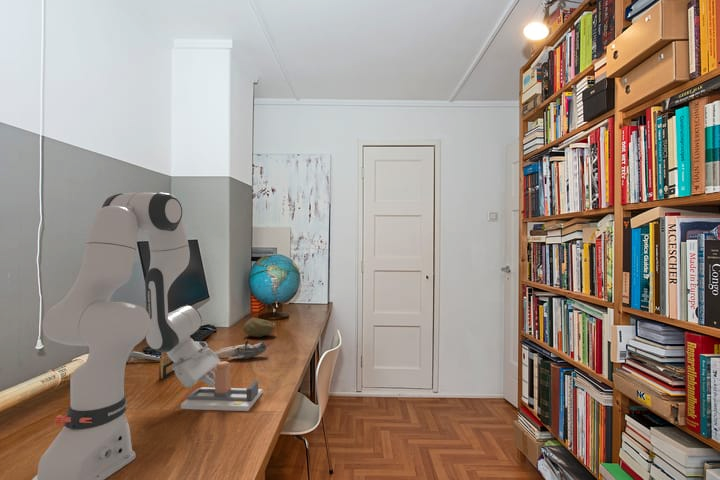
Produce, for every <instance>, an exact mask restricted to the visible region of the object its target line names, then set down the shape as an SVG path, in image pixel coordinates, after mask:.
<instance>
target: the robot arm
mask: <svg viewBox="0 0 720 480" xmlns="http://www.w3.org/2000/svg"><path fill="white" fill-rule="evenodd" d="M182 217H183V207H182V204H181V202H180V201H179V200H178V198H177V197H176V196H175V195H174V194H171V193H167V192H160V191H159V192H143V191H136V192H134V191H133V192H128V193H116V194H114V195H110V196H109V197H107V198H106V199H105V201H104V202H103V204H102V206H101V208H100V209H98V211H97V212H96V214H95V216H94V218H93V220H92V223H91V226H90V229H89V232H88V234H87V239H86V243H85V247H84V253H83V256H82V262H81V266H80V268H79V269H80V270H79V273H78V274H77V278H76V280H75V281H74V284H73V285H72V287H71V288H70V290H69V291H68V292H67V294H66V295H65V297H63V298H62V299H61V300H60V301H58V303H56V304H55V305H53V306H52V307H51V308H49V309H48V310H47V312H46V313H45V315H44V317H43V318H42V319H43V320H42V322H41V323H42V325H41V326H42V327H41V329H42V332H43V334H44V337H46V338H47V339H48V340H50V341H52V342H54V343H55V342H56V343H58V344H62V345H65V346H75V347H76V346H79V347H88V350H89V351H88V356H87V359H86V361H85V362H84V363H82V364H80V365H79V366H78V367H76V368H75V369H74V370H73V371H72V373H71V375H70V379H69V380H70V383H69V384H70V385H69V387H70V393H69V395H70V405H69V406H68V409H67V410H66V411H67V412H66V414H65V415H64V414H63V415H62V414H58V415H57V416H55V419H54V424H55V425H59V426H60V425H62V426H63V425H64V426H63V428H62V429H61V430H60V432H59V433H58V434H57V436H56V437H55V439H53V441H52V443H51V444H50V445H49V447H48V448H47V449H46V450H45V452H44V453H43V455H41V457H40V458H39V461H38V466H37V474H36V475H35V476H34V477H33V478H32V479H31V480H106V479H107V478H109V477H110V476H112V475H113V474H115V473H116V472H118V471H119V470H120V469H122V468H123V467H124V466H126V465H128V464H130V463H132V462H133V461H134V460H135V459H136V458H137V455H136V452H135V451H134V450H133V445H132V437H131V429H130V428H131V427H130V424H129V422H128V420H127V417H126V414H125V412H126V411H127V397H126V394H125V369H126V364H127V362H126V361H127V359H128V356H129V354H130V353H131V351H132V349H133V350H134V349H135V347H137V345H139V344H140V343H142V342H143V340H144V339H145V342H146V344H147V346H148V347H149V348H150V349H152V350H154V351H156V352H158V353H161V352H166V353H167V354H168V356H169V358H170V359H171V360H172V361H173V362H174V364H173V370H174V371H175V373H174V374H175V376H176V377H177V379H178V380H179V381H180V383H181V384H182V385H183V386H184V387H185V388H187V389H190V388H192V387H193V386H194V385H195V384H198V382H199V381H201V382H202V383H204V384H207V385H208V386H209V388H215V371H214V370H215V368H216V363H218V362H221V360H220V358H219V356H217V355H216V354H215V353H214V352H215V351H213V350H212V349H211V348H210V347H209V345H208V343H207V342H206V341H197V340H195V341H194V339H193V338H191V335H193V334H195V333H196V332H197V331H198V330H199V329H200V328H201V326H202V322H203V319H202V315H201V313H200V312H199V310H197V309H196V308H195V307H193V306H191V305H184V306H180V307H179V308H177V309H175V310H173V311H170V312H169V307H168V306H169V304H168V302H169V301H168V294H169V293H168V292H169V290H170V289H171V288H170V287H171V286H172V285H173V283H174V281H176V279H177V278H178V277H179V276H180V275H181V274H182V273H183V272H184V271H185V270H186V269H187V267H188V266H189V263H190V259H191V258H190V257H191V256H190V255H191V252H190V251H191V250H190V245H189V240H188V236H187V231H186V229H185V226H184V223H183V221H182ZM139 231H140V232H146V233H147V239H148V246H149V252H150V255H149V256H150V259H149V260H150V262H149V268H148V271H147V273H146V275H145V281H144V282H145V283H144V285H145V287H144V288H145V289H144V292H145V307H143V306H142V305H141V306H140V305H138V304H134V303H131V302H130V303H129V302H125V301H110V300H111V298H112V296H113V294H114V293H115V292H116V290H117V289H118V288H120V287H121V286H123V285H125V284H127V283H128V282H129V281H130V280H131V278H132V275H133V270H134V264H135V259H136V258H135V257H136V250H137V245H138V233H139ZM132 352H133V351H132ZM174 366H175V367H174Z"/></svg>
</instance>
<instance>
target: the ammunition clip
mask: <svg viewBox="0 0 720 480" xmlns="http://www.w3.org/2000/svg"><path fill="white" fill-rule="evenodd" d="M160 357H161V359H160V361H159V362H160V365H159V373H158V375H159V376H158V377H159V380H165V379H167V378H168V377H170V376H171V375H173V374H175V373H174V372H175V371H174V370H173V364H174V362H173V361H172V360H171V359H170V358H169V356H168V354H167V353H166V352H160ZM174 367H175V366H174ZM169 375H170V376H169ZM166 377H167V378H166ZM164 378H165V379H164Z"/></svg>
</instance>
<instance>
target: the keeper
mask: <svg viewBox="0 0 720 480" xmlns="http://www.w3.org/2000/svg"><path fill="white" fill-rule="evenodd" d="M214 374H215V386H214V388H215V393H214V396H221V397H228V396H229V395H230V394H231V388H232V387H231V365H230V362H229V361H228V360H227V361H226V360H225V361H224V360H223V361H220V362H218V363H216V368H215V369H214Z"/></svg>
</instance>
